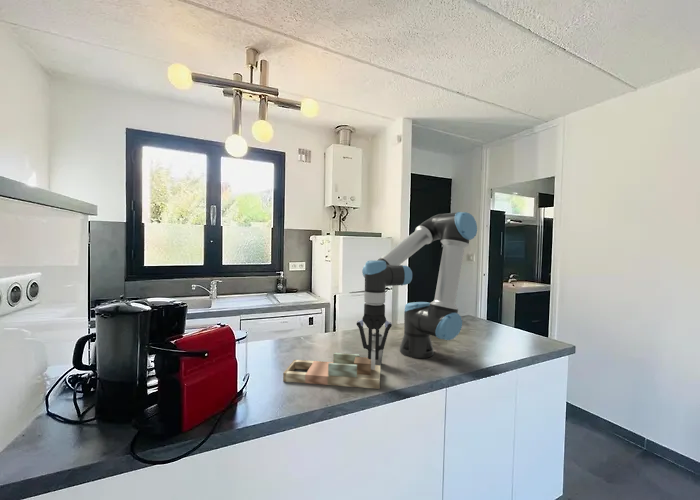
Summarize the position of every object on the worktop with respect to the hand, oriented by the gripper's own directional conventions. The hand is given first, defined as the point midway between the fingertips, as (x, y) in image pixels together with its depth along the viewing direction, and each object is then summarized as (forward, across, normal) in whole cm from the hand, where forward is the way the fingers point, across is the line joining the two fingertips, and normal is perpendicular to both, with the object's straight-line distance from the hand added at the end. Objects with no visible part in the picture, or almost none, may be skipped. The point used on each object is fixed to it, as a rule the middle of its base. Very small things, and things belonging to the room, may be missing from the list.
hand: (373, 367), depth 113 cm
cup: (+5, -1, -16) cm, 16 cm away
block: (+2, +4, 0) cm, 4 cm away
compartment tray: (+5, +14, 0) cm, 15 cm away
